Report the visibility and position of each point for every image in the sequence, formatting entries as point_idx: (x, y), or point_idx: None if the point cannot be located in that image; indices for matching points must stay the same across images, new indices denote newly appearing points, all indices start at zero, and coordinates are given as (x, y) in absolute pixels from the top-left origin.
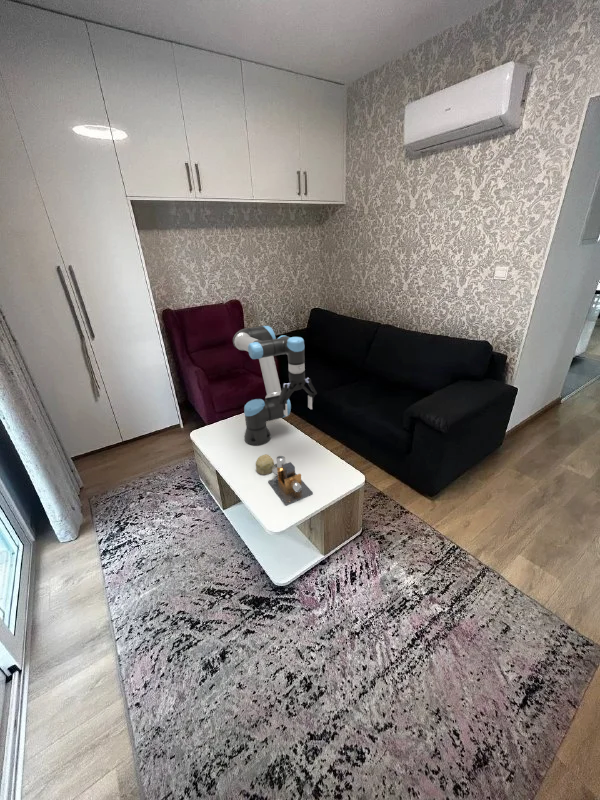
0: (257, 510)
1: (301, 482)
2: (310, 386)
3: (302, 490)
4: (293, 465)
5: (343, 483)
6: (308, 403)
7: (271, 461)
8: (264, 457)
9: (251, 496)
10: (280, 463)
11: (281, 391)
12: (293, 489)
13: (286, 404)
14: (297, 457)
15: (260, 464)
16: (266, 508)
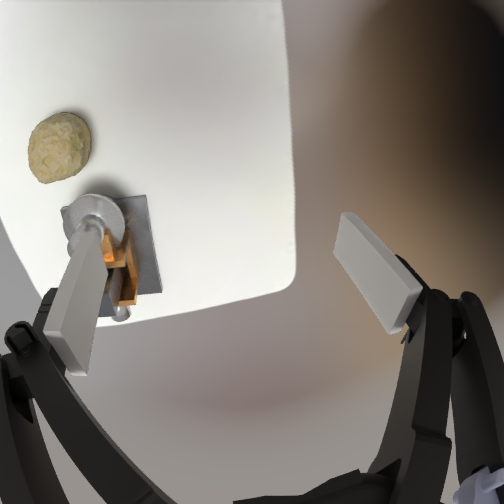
0: (35, 283)
1: (147, 252)
2: (457, 432)
3: (140, 278)
4: (114, 310)
5: (250, 284)
6: (360, 240)
7: (70, 172)
8: (46, 157)
9: (21, 239)
10: None
11: (4, 495)
12: None
13: (81, 371)
14: (194, 121)
15: (34, 174)
16: (52, 285)
